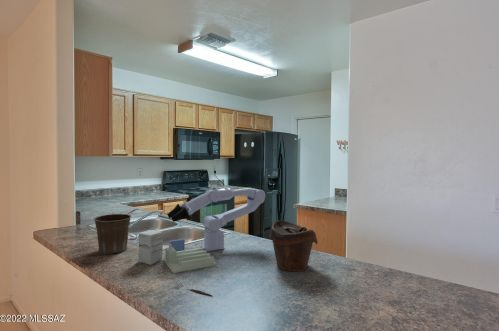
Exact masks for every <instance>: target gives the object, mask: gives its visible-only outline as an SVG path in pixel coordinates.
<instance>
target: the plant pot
mask: <svg viewBox="0 0 499 331" xmlns="http://www.w3.org/2000/svg"><path fill="white" fill-rule="evenodd" d="M131 218H132V215H131V214H127V213H126V214H125V213H113V214H111V213H110V214H104V215H100V216H96V217H94V218H93V221H94V223H95V224H94V225H95V228H96V235H97V244H98V251H99V254H103V255H114V254H116V253H117V254H119V253H123V252H125V251H126V250H127V249H128V239H129V227H130V224H131Z"/></svg>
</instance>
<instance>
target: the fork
mask: <svg viewBox="0 0 499 331" xmlns="http://www.w3.org/2000/svg"><path fill="white" fill-rule="evenodd" d="M173 283H174V285H175V287H177V289H179V290H180V289H182V288H184V287H185V285H184V284H183V283H182V282H181V281H180V280H179V279H177V282H173ZM185 290H187V291H188V290H189V291H191V292H194V293H196V294H200V295H204V296H209V297H213V295H212V294H211V293H207V292H204V291H202V290H197V289H193V288H188V287H186V288H185Z"/></svg>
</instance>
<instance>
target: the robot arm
mask: <svg viewBox="0 0 499 331" xmlns="http://www.w3.org/2000/svg"><path fill="white" fill-rule="evenodd" d="M233 197H246V203H245V204H242V205H240V206H237V207H235V208H233V209H229V210H228V211H225V212H223V213H220V214H218V213H217V214H214V215H206V216H205V217H203V220H202V225H203V226H204V232H203V236H204V238H203V245H202V246H200V248H203V251H205V250H206V252H211V251H218V250H224V249H225V233H224V231H223V229H221V228H222V227H224V226H225V224H227V223H229V222H232V221H234V220H236V219H238V218H241V217H244V216H246V215H248V214H251V213H253V212H255V211H256V210H257V209H258V207H259V206H260V205H261V204H263V203H264V202H265V199H266V193H265V191H264V190H263V189H257V188H253V187H252V188H251V187H250V188H247V187H245V188H239V189H238V188H237V189H233V190H232V189H231V188H230V187H227V186H226V187H224V188H215V189H207V190H206V191H205V192H204V193H203V194H201V195H198V196H197V197H195V198H192V199H191V200H189V201H187V202H186V201H185V200H184V201H182V202H183V204H181V205H180V204H179V203H177V204H176V205H175V206H174V208H173V209H171V211H169V212H168V213H167V218H168V219H171V221H172V222H178V221H181V220H188V219H190V216H191V215H193V214H194V213H195V212H197V211H199V210H200V209H202V208H204V207H206V206H208V205H209V204H211V203H212V202H213V203H218V202H221V201H226V200H231V199H232V198H233Z"/></svg>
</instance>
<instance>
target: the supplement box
mask: <svg viewBox="0 0 499 331" xmlns="http://www.w3.org/2000/svg"><path fill="white" fill-rule="evenodd" d="M163 234H164V232H163V231H161V230H160V231H159V230H153V229H148V230H145V231H141V232H139V233H138V252H137V254H138V255H137V256H138V263H142V264H147V265H154V264H156V263H159V262H161V261H163V245H164V243H163V240H164V235H163Z"/></svg>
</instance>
